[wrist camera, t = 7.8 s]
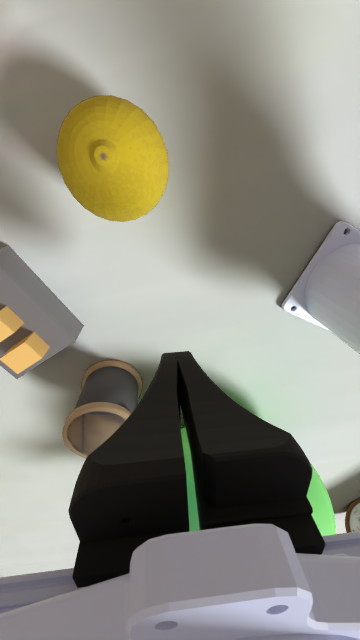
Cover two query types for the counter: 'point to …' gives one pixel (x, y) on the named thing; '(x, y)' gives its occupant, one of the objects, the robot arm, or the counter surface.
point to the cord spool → (102, 405)
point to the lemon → (112, 158)
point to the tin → (353, 517)
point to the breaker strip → (30, 317)
